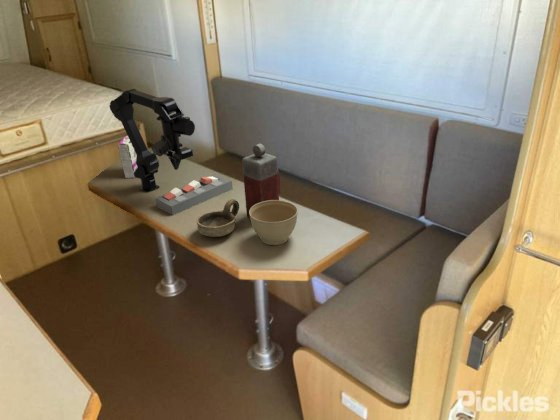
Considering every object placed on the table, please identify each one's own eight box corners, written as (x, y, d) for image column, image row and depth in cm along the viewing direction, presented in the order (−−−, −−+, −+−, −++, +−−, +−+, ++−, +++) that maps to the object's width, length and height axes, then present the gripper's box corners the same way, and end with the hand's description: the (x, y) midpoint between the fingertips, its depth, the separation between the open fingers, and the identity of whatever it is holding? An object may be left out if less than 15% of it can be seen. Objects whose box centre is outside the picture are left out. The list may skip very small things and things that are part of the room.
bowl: (189, 234, 167) (185, 209, 162) (227, 216, 178) (225, 192, 173) (214, 248, 158) (210, 222, 154) (252, 228, 169) (250, 203, 164)
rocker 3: (200, 181, 197) (200, 177, 196) (212, 180, 202) (212, 176, 201) (205, 183, 195) (206, 179, 194) (217, 182, 199) (218, 178, 199)
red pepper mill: (284, 212, 179) (281, 141, 166) (263, 223, 172) (258, 151, 158) (267, 205, 184) (263, 136, 171) (246, 216, 177) (240, 145, 164)
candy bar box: (131, 168, 223) (124, 135, 215) (142, 168, 223) (135, 135, 215) (124, 178, 213) (117, 144, 205) (135, 178, 213) (128, 143, 205)
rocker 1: (165, 200, 187) (163, 196, 186) (177, 190, 190) (175, 187, 189) (170, 202, 184) (168, 199, 183) (182, 193, 187) (181, 189, 186)
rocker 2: (183, 192, 192) (182, 188, 191) (195, 183, 195) (193, 179, 194) (189, 194, 190) (187, 191, 189) (201, 185, 193) (199, 182, 192)
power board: (156, 206, 187) (155, 197, 185) (216, 181, 206) (215, 173, 204) (172, 215, 180) (171, 205, 178) (232, 188, 199) (231, 180, 197)
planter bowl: (305, 245, 157) (304, 217, 152) (257, 255, 154) (255, 226, 148) (290, 223, 171) (289, 196, 166) (246, 231, 167) (244, 204, 162)
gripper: (139, 132, 182) (146, 169, 190) (166, 142, 171) (172, 182, 178) (163, 125, 189) (169, 161, 197) (191, 134, 177) (196, 172, 185)
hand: (176, 169), depth 189 cm, fingers closed
